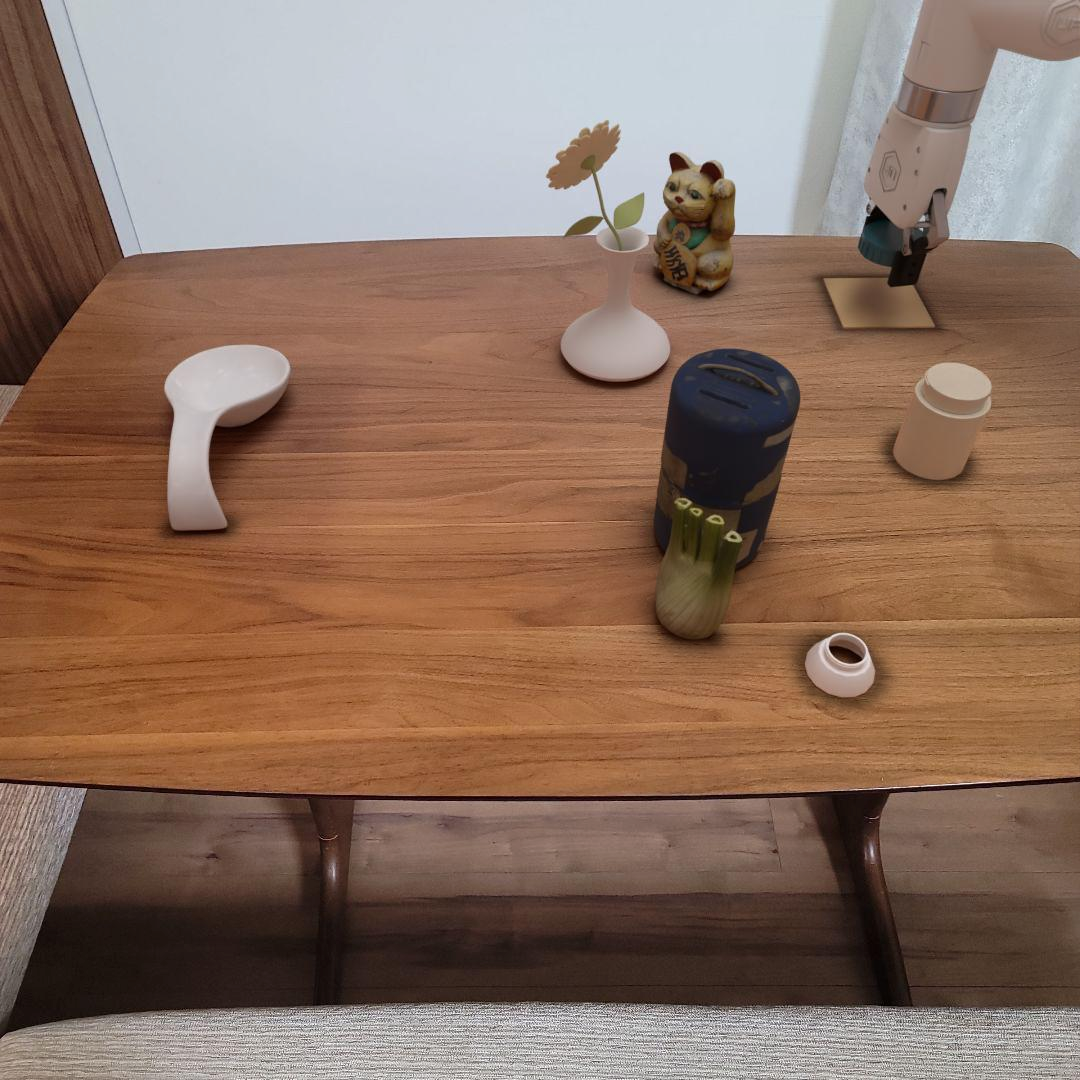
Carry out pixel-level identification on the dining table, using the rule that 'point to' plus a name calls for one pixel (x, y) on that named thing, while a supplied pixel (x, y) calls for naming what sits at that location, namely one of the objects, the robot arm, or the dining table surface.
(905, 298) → the coaster
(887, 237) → the lid
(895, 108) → the robot arm
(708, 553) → the fennel bulb
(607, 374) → the flower in vase
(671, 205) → the decorative figurine
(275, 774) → the dining table surface
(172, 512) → the spoon rest
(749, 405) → the canister
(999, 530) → the dining table surface
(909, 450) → the jar
